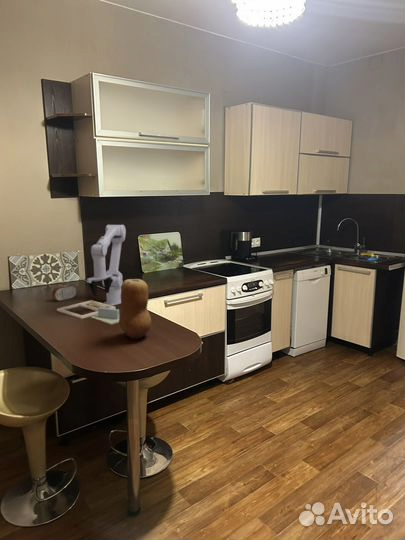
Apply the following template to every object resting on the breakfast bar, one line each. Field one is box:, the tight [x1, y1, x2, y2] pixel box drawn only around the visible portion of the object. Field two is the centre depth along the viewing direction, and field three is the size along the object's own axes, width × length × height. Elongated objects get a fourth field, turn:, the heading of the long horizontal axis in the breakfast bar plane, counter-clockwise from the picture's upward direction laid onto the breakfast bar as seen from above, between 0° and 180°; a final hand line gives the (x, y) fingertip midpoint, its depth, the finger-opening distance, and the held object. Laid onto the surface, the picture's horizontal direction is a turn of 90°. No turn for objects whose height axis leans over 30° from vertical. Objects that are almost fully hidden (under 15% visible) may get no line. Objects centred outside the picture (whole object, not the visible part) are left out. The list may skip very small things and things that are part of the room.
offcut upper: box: [88, 303, 107, 308], centre depth 212 cm, size 4×10×1 cm, turn 50°
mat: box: [90, 314, 119, 325], centre depth 194 cm, size 10×16×1 cm, turn 51°
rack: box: [56, 299, 116, 319], centre depth 208 cm, size 21×21×2 cm
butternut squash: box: [118, 278, 152, 340], centre depth 167 cm, size 14×13×25 cm
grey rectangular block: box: [97, 307, 120, 319], centre depth 194 cm, size 2×11×4 cm, turn 68°
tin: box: [51, 283, 78, 302], centre depth 228 cm, size 15×3×8 cm, turn 141°
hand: (101, 294), depth 204 cm, fingers open, 7 cm apart
